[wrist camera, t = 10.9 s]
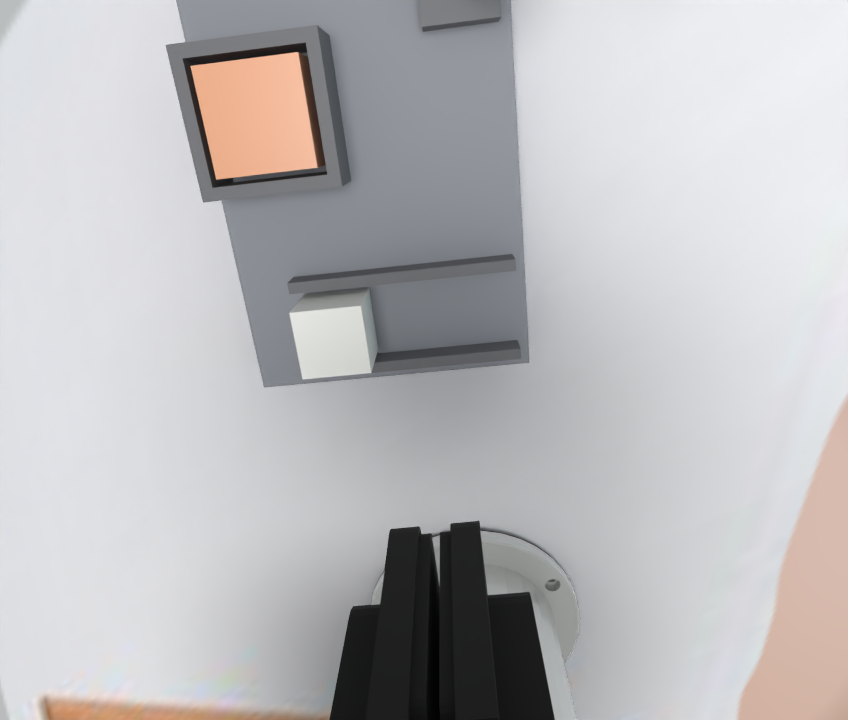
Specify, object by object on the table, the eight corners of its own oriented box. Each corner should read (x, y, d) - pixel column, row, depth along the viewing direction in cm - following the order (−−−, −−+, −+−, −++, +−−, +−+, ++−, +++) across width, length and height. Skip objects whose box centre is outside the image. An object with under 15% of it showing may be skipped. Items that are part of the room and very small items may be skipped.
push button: (325, 165, 25) (317, 167, 23) (231, 176, 25) (216, 179, 23) (308, 57, 23) (298, 51, 22) (208, 70, 23) (190, 66, 22)
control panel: (523, 348, 31) (537, 384, 26) (274, 371, 31) (248, 410, 27) (500, -70, 24) (513, -113, 20) (187, -27, 25) (135, -58, 21)
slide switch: (378, 348, 28) (371, 373, 26) (315, 354, 29) (302, 379, 26) (368, 287, 27) (361, 305, 25) (304, 294, 28) (289, 312, 25)
